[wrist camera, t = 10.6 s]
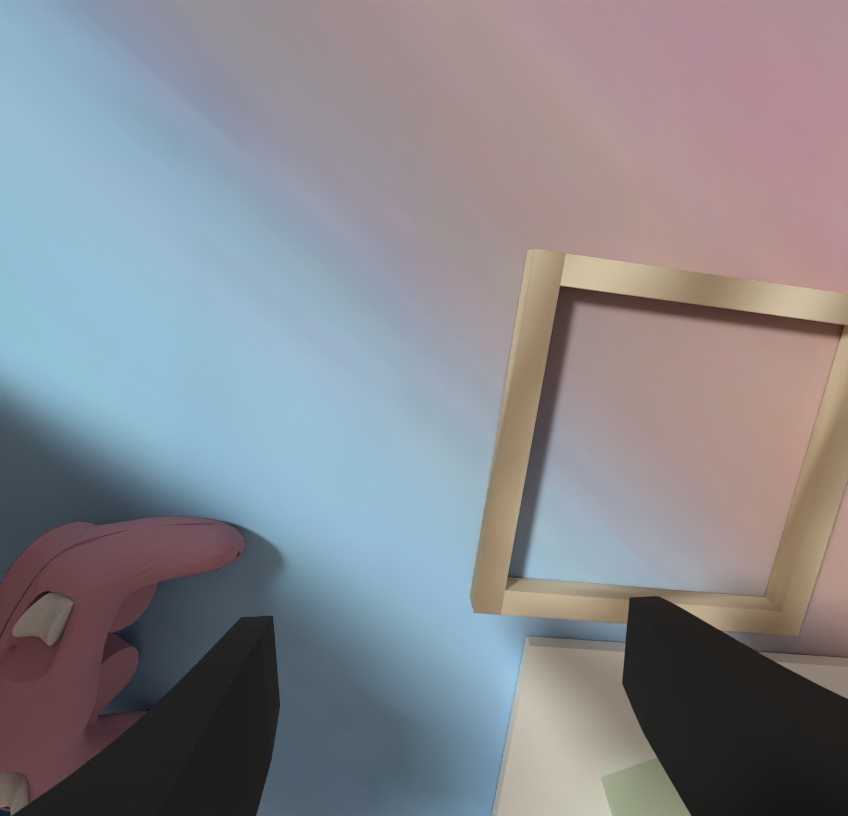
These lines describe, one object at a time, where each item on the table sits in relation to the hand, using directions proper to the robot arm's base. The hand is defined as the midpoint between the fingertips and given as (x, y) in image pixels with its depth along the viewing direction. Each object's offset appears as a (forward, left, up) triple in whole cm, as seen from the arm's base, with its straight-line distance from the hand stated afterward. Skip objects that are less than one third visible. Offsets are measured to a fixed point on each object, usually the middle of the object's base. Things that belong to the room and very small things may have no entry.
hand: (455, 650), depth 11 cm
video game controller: (+10, +6, -10) cm, 15 cm away
